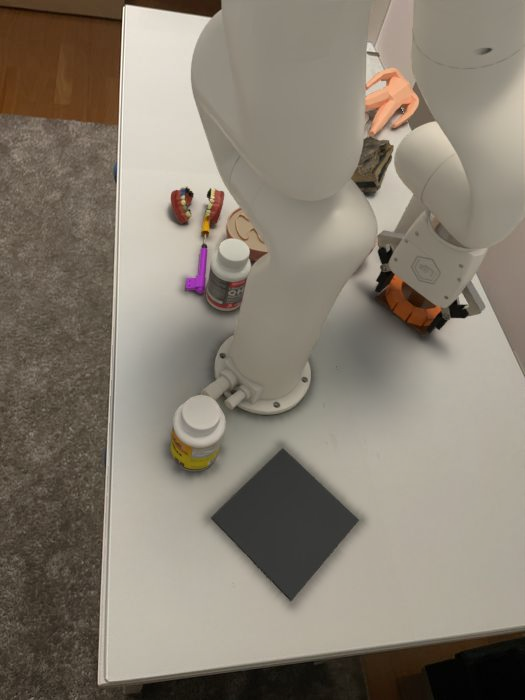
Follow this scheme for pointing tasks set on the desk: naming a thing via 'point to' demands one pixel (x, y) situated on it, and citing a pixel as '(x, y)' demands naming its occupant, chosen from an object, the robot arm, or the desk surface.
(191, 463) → the supplement bottle
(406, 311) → the ring
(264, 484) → the mat
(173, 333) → the desk surface
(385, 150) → the rock
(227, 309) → the pill bottle
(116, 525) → the desk surface
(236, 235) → the mitochondrion model
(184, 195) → the dental model
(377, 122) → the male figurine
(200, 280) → the purple and orange tool
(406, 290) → the ring post
